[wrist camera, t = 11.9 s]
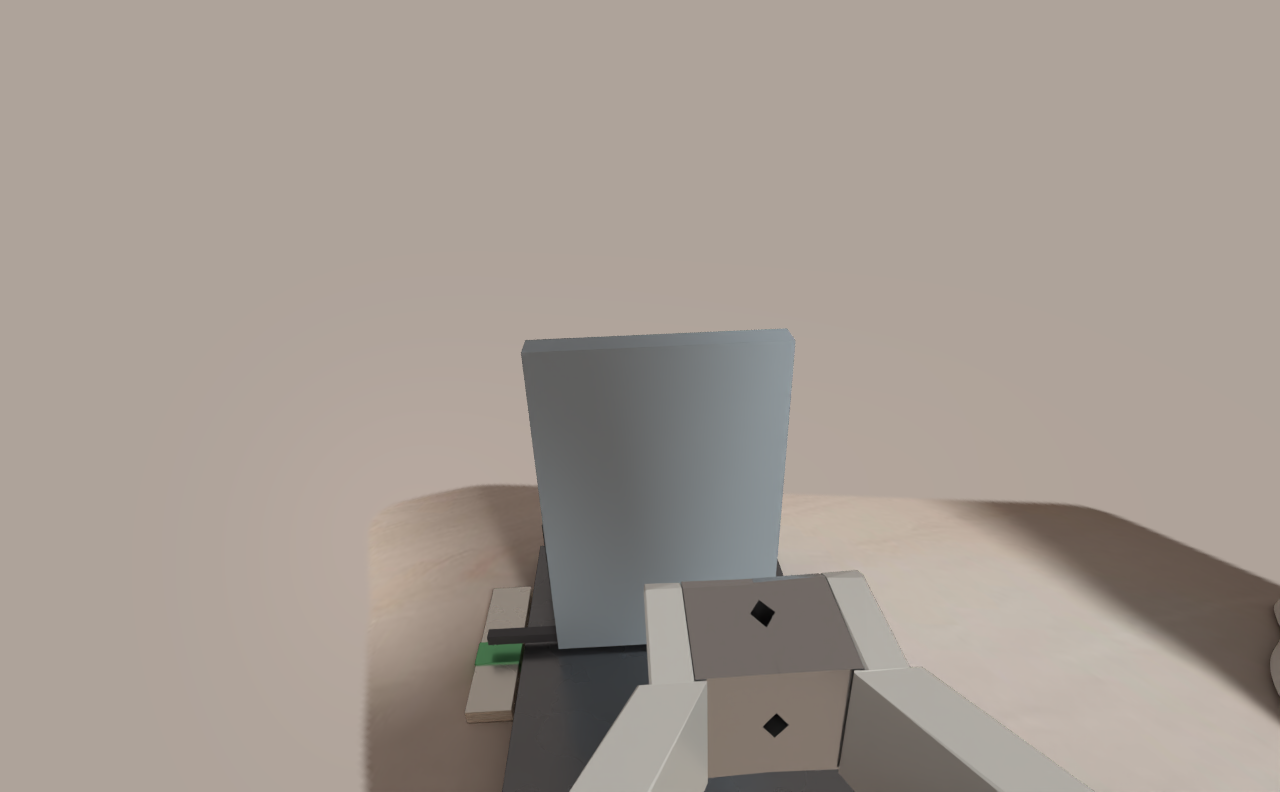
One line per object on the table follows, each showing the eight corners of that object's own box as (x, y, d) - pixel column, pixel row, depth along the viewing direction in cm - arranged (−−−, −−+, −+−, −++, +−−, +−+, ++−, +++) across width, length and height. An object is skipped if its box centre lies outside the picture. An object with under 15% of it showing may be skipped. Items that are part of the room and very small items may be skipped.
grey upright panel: (765, 617, 37) (786, 328, 29) (770, 637, 35) (795, 340, 27) (491, 632, 36) (437, 344, 28) (487, 652, 35) (428, 356, 27)
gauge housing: (767, 547, 45) (773, 476, 42) (856, 809, 28) (873, 721, 26) (503, 561, 44) (491, 490, 41) (440, 835, 28) (414, 748, 25)
